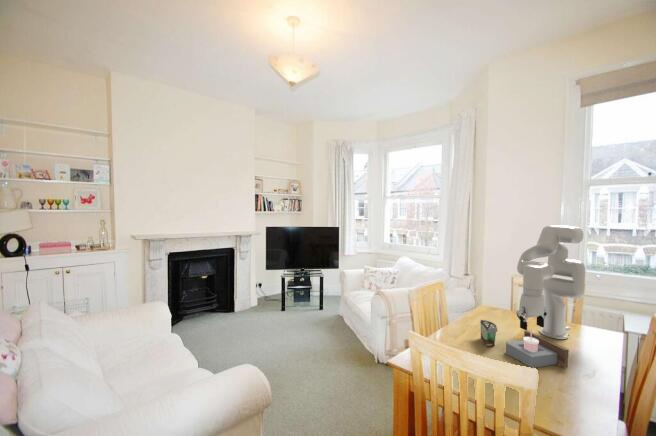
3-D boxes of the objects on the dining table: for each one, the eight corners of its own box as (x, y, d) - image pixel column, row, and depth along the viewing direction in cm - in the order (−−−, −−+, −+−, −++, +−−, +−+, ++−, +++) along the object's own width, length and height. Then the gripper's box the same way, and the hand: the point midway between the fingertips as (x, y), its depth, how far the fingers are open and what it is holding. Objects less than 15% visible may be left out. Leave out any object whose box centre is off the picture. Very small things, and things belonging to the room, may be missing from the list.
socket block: (528, 349, 145) (529, 339, 145) (557, 364, 132) (557, 353, 131) (505, 352, 142) (505, 342, 141) (532, 368, 128) (532, 357, 128)
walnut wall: (527, 346, 149) (527, 330, 148) (567, 367, 129) (568, 349, 129) (523, 346, 148) (524, 331, 148) (564, 367, 129) (565, 350, 128)
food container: (501, 349, 145) (501, 329, 144) (487, 348, 146) (488, 328, 146) (492, 338, 157) (492, 320, 156) (479, 337, 158) (480, 319, 158)
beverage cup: (541, 362, 133) (542, 332, 133) (526, 361, 134) (527, 331, 134) (534, 355, 139) (535, 326, 139) (520, 354, 140) (521, 325, 140)
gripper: (539, 287, 141) (539, 321, 142) (510, 291, 137) (509, 326, 138) (555, 292, 134) (554, 328, 135) (524, 296, 129) (524, 333, 131)
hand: (531, 327), depth 136 cm, fingers open, 9 cm apart
